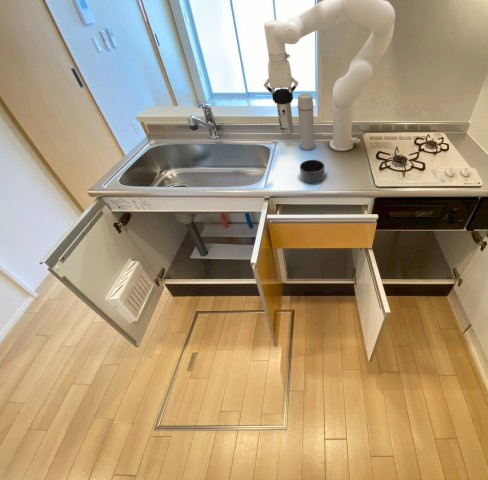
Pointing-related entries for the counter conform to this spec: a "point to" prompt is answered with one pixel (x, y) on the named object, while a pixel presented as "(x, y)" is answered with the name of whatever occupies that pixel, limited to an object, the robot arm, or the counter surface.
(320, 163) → the can holder
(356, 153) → the counter surface
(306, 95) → the water bottle
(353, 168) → the counter surface
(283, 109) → the spray can
